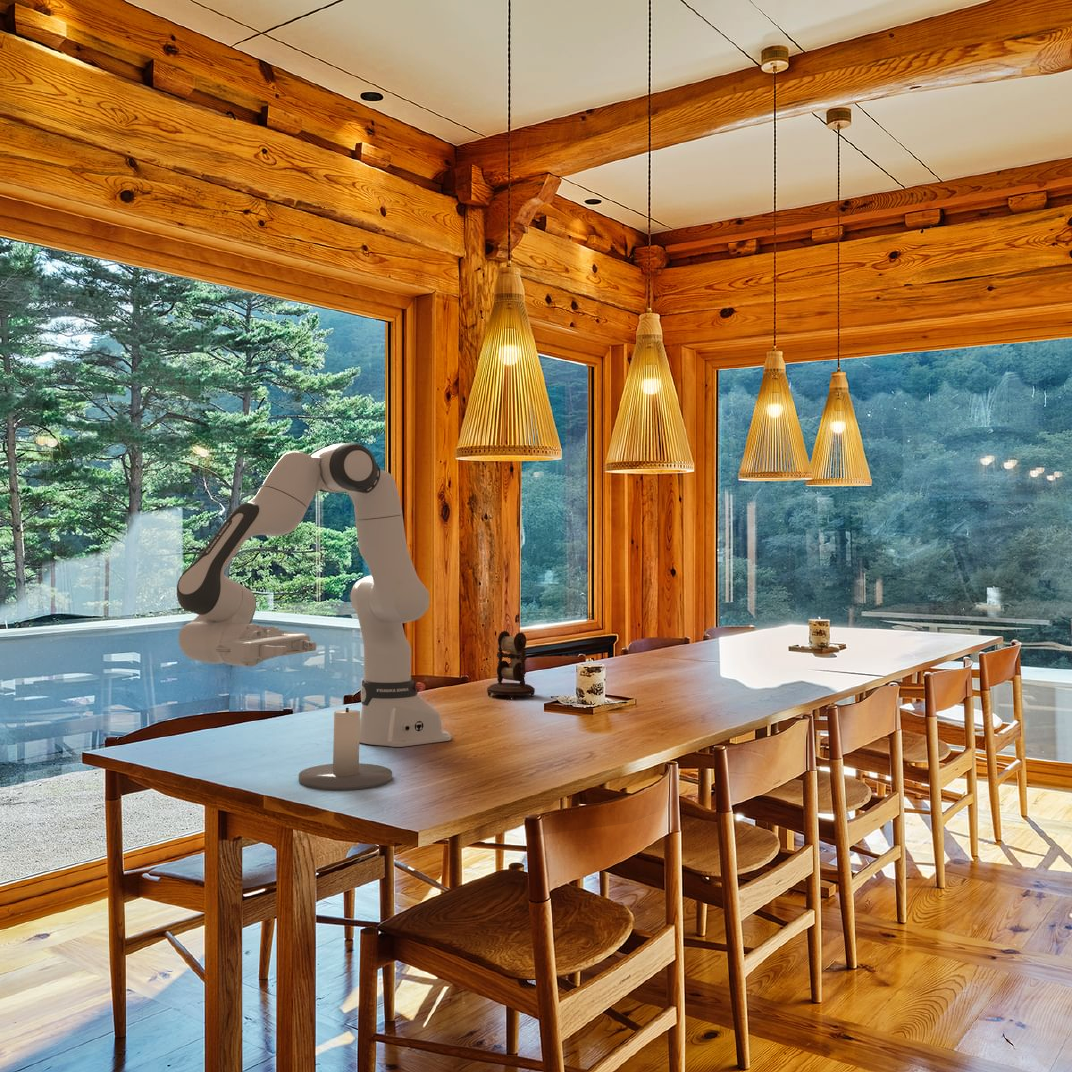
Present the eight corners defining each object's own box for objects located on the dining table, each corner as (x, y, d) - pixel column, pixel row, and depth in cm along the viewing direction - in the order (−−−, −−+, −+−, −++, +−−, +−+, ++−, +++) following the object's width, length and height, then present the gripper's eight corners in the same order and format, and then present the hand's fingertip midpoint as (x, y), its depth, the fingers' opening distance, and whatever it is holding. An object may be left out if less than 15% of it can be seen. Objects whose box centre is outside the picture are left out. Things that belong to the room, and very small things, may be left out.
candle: (354, 769, 198) (355, 705, 198) (362, 774, 193) (363, 709, 193) (329, 771, 195) (331, 706, 196) (336, 777, 191) (338, 710, 191)
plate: (375, 765, 207) (375, 760, 207) (405, 785, 191) (405, 778, 191) (288, 773, 198) (288, 767, 198) (312, 794, 182) (312, 787, 182)
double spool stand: (544, 696, 307) (545, 632, 307) (512, 701, 295) (513, 634, 296) (509, 691, 316) (510, 628, 317) (477, 696, 305) (478, 631, 305)
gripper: (210, 633, 196) (265, 637, 191) (278, 626, 215) (330, 629, 209) (209, 665, 196) (264, 670, 191) (277, 655, 215) (329, 659, 209)
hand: (299, 649), depth 200 cm, fingers open, 8 cm apart
